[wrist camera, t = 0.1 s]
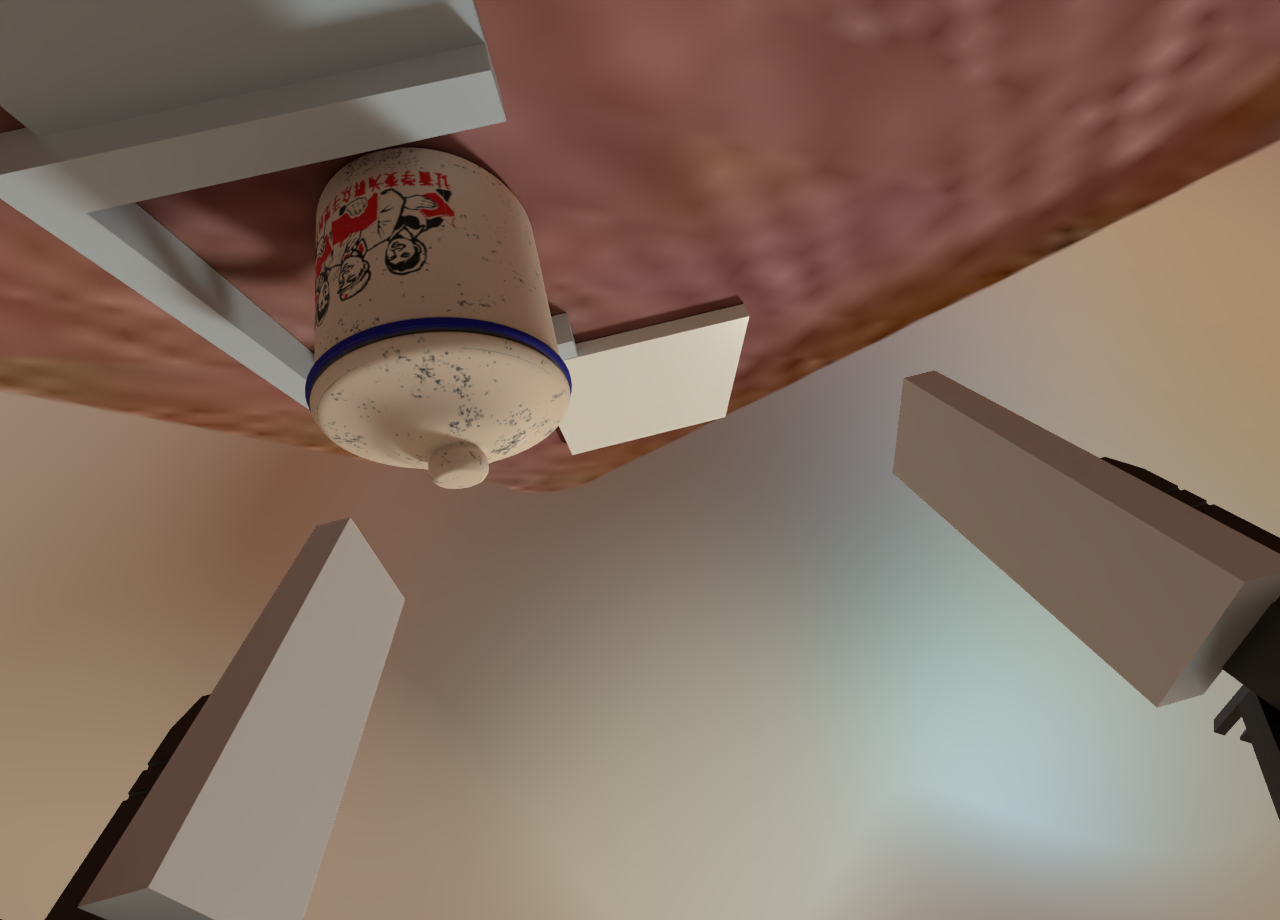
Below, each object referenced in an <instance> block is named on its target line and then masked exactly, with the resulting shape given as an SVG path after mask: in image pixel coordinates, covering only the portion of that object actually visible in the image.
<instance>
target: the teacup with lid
mask: <svg viewBox="0 0 1280 920" xmlns="http://www.w3.org/2000/svg"><path fill="white" fill-rule="evenodd" d="M571 392H572V382H571V376H570V373H569V370H568V368H567V366H566V364H565V363H564V361H563V360H562V359H561V357H560V355H559V350H558V346H557V341H556V337H555V332H554V328H553V323H552V318H551V314H550V309H549V305H548V300H547V295H546V291H545V286H544V282H543V277H542V273H541V268H540V263H539V259H538V254H537V250H536V245H535V240H534V236H533V231H532V228H531V224H530V221H529V219H528V217H527V215H526V212H525V211H524V209H523V207H522V205H521V204H520V202H519V201H518V200H517V198H516V197H515V196H514V194H513V193H512V192H511V191H510V190H509V189H508V188H507V187H506V186H505V185H504V184H503V183H502V182H501V181H500V180H498V179H497V178H496V177H495V176H493V175H492V174H491V173H489V172H488V171H486V170H485V169H483V168H481V167H480V166H478V165H476V164H474V163H472V162H470V161H468V160H465V159H463V158H461V157H458V156H455V155H452V154H449V153H445V152H441V151H437V150H431V149H425V148H393V149H386V150H381V151H376V152H373V153H370V154H367V155H364V156H362V157H360V158H358V159H355V160H354V161H352V162H350V163H349V164H347V165H346V166H344V167H343V168H342V169H341V170H339V171H338V172H337V173H336V174H335V175H334V176H333V177H332V178H331V179H330V181H329V182H328V184H327V185H326V186H325V188H324V190H323V192H322V194H321V196H320V200H319V203H318V206H317V212H316V266H315V351H314V365H313V367H312V368H311V370H310V372H309V374H308V376H307V379H306V384H305V398H306V402H307V405H308V407H309V410H310V412H311V413H312V416H313V418H314V420H315V422H316V423H317V425H318V426H319V428H320V429H321V430H322V431H323V433H324V434H325V435H326V436H327V437H328V438H329V439H331V440H332V441H333V442H334V443H336V444H337V445H339V446H340V447H342V448H343V449H345V450H347V451H349V452H351V453H353V454H355V455H358V456H360V457H363V458H366V459H368V460H371V461H375V462H379V463H383V464H387V465H393V466H399V467H407V468H418V469H426V470H429V476H430V478H431V480H432V481H433V482H434V483H435V484H436V485H438V486H440V487H443V488H449V489H459V488H467V487H471V486H474V485H476V484H478V483H480V482H482V481H483V480H484V479H485V477H486V476H487V474H488V471H489V466H488V464H489V463H491V462H494V461H497V460H500V459H504V458H507V457H510V456H513V455H515V454H518V453H520V452H522V451H524V450H527V449H528V448H530V447H532V446H534V445H536V444H537V443H539V442H540V441H542V440H543V439H545V438H546V437H547V436H548V435H550V434H551V433H552V432H553V431H554V430H555V429H556V428H557V427H558V425H559V424H560V423H561V421H562V420H563V418H564V416H565V414H566V412H567V409H568V407H569V403H570V396H571Z"/></svg>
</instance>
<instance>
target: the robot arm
mask: <svg viewBox="0 0 1280 920" xmlns="http://www.w3.org/2000/svg"><path fill="white" fill-rule="evenodd" d="M903 381H904V382H903V389H902V398H901V406H900V415H899V423H898V432H897V441H896V449H895V458H894V466H893V473H894V474H895V475H896V476H897V477H898V478H900V480H902V481H903V482H904V483H905V484H906V485H907V486H908V487H909V488H910V489H912V490H913V491H914V492H915V493H916V494H917V495H918V496H920V497H921V498H922V499H923V500H924V501H925V502H926V503H927V504H928V505H930V506H931V507H932V508H933V509H934V510H935V511H936V512H938V513H939V514H940V515H941V516H942V517H943V518H944V519H946V520H947V521H948V522H949V523H950V524H951V525H952V526H953V527H955V529H957V530H958V531H959V532H960V533H961V534H962V535H963V536H965V537H966V538H967V539H968V540H969V541H970V542H971V543H973V544H974V545H975V546H976V547H977V548H978V549H979V550H980V551H981V552H982V553H984V554H985V555H986V556H987V557H988V558H989V559H990V560H992V561H993V562H994V563H995V564H996V565H997V566H998V567H999V568H1000V569H1002V570H1003V571H1004V572H1005V573H1006V574H1008V576H1010V577H1011V578H1012V579H1013V580H1014V581H1015V582H1016V583H1017V584H1019V585H1020V586H1021V587H1022V588H1023V589H1024V590H1025V591H1026V592H1028V593H1029V594H1030V595H1031V596H1032V597H1033V598H1034V599H1036V600H1037V601H1038V602H1039V603H1040V604H1041V605H1042V606H1043V607H1045V608H1046V609H1047V610H1048V611H1049V612H1050V613H1051V614H1052V615H1053V616H1055V617H1056V618H1057V619H1058V620H1059V621H1060V622H1061V623H1062V624H1064V625H1065V626H1066V627H1067V628H1068V629H1069V630H1070V631H1071V632H1073V633H1074V634H1075V635H1076V636H1077V637H1078V638H1079V639H1080V640H1082V641H1083V642H1084V643H1085V644H1086V645H1087V646H1088V647H1089V648H1091V649H1092V650H1093V651H1094V652H1095V653H1096V654H1097V655H1098V656H1100V657H1101V658H1102V659H1103V660H1104V661H1105V662H1106V663H1108V664H1109V665H1110V666H1111V667H1112V668H1113V669H1114V670H1115V671H1117V672H1118V673H1119V674H1120V675H1121V676H1122V677H1123V678H1124V679H1126V680H1127V681H1128V682H1129V683H1130V684H1131V685H1132V686H1133V687H1134V688H1136V689H1137V690H1138V691H1139V692H1140V693H1141V694H1142V695H1143V696H1145V697H1146V698H1147V699H1148V700H1149V701H1150V702H1152V703H1153V704H1154V705H1155V706H1156V707H1161V706H1164V705H1167V704H1171V703H1174V702H1178V701H1181V700H1185V699H1188V698H1192V697H1195V696H1199V695H1202V694H1204V693H1205V692H1206V690H1207V689H1208V688H1209V686H1210V685H1211V683H1213V681H1214V680H1215V679H1216V677H1217V676H1218V675H1219V674H1220V672H1221V671H1222V670H1225V671H1226V672H1227V673H1229V674H1230V675H1231V676H1233V677H1234V678H1235V679H1237V680H1238V681H1239V682H1241V683H1242V684H1243V686H1242V687H1241V688H1240V689H1239V690H1238V692H1237V693H1236V694H1235V695H1234V696H1233V697H1232V699H1231V700H1230V701H1229V702H1228V703H1227V705H1226V706H1225V707H1224V708H1223V709H1222V711H1221V712H1220V713H1219V714H1218V715H1217V717H1216V718H1215V719H1214V732H1216V733H1219V734H1222V735H1225V734H1226V733H1227V732H1228V731H1229V730H1230V729H1231V728H1232V726H1233V725H1234V724H1235V723H1236V722H1237V721H1238V720H1239V719H1240V717H1242V718H1243V721H1244V723H1245V726H1246V730H1245V731H1244V732H1243V734H1242V735H1241V737H1240V740H1242V741H1246V742H1249V743H1252V745H1253V748H1254V751H1255V754H1256V756H1257V759H1258V762H1259V765H1260V768H1261V770H1262V773H1263V776H1264V779H1265V781H1266V784H1267V787H1268V790H1269V792H1270V795H1271V798H1272V801H1273V803H1274V806H1275V809H1276V812H1277V814H1278V817H1279V819H1280V538H1279V537H1277V536H1275V535H1273V534H1271V533H1269V532H1267V531H1265V530H1263V529H1261V528H1259V527H1257V526H1255V525H1254V524H1252V523H1250V522H1248V521H1246V520H1244V519H1241V518H1240V517H1237V516H1236V515H1234V514H1232V513H1230V512H1228V511H1226V510H1224V509H1222V508H1220V507H1218V506H1216V505H1208V504H1207V503H1206V500H1204V499H1202V498H1200V497H1199V496H1197V495H1195V494H1193V493H1191V492H1189V491H1187V490H1182V491H1181V490H1179V489H1178V486H1177V485H1175V484H1173V483H1171V482H1169V481H1167V480H1165V479H1163V478H1161V477H1159V476H1157V475H1155V474H1153V473H1151V472H1149V471H1147V470H1146V469H1143V468H1140V467H1137V466H1133V465H1130V464H1127V463H1124V462H1120V461H1117V460H1114V459H1110V458H1107V457H1103V458H1098V457H1096V456H1094V455H1092V454H1091V453H1089V452H1087V451H1085V450H1083V449H1081V448H1079V447H1077V446H1076V445H1074V444H1072V443H1070V442H1068V441H1066V440H1064V439H1062V438H1060V437H1059V436H1057V435H1055V434H1053V433H1051V432H1049V431H1047V430H1045V429H1044V428H1042V427H1040V426H1038V425H1036V424H1034V423H1032V422H1030V421H1029V420H1026V419H1025V418H1023V417H1021V416H1019V415H1017V414H1015V413H1013V412H1012V411H1010V410H1007V409H1006V408H1004V407H1002V406H1000V405H998V404H996V403H995V402H993V401H991V400H989V399H987V398H985V397H983V396H982V395H980V394H978V393H976V392H974V391H972V390H970V389H968V388H966V387H965V386H963V385H961V384H959V383H957V382H955V381H953V380H951V379H950V378H947V377H946V376H944V375H942V374H940V373H938V372H936V371H931V372H926V373H923V374H919V375H914V376H910V377H906V378H904V380H903ZM404 601H405V599H404V597H403V596H402V594H401V593H400V591H399V590H398V588H397V587H396V585H395V584H394V582H393V581H392V579H391V578H390V576H389V575H388V573H387V572H386V570H385V569H384V567H383V566H382V564H381V563H380V561H379V560H378V558H377V557H376V555H375V554H374V552H373V551H372V549H371V548H370V546H369V545H368V543H367V542H366V540H365V539H364V537H363V535H362V534H361V532H360V531H359V529H358V528H357V526H356V525H355V523H354V522H353V520H352V519H351V518H346V519H342V520H338V521H334V522H330V523H326V524H322V525H318V526H316V527H315V529H314V530H313V532H312V534H311V535H310V537H309V538H308V540H307V542H306V543H305V545H304V546H303V548H302V550H301V551H300V553H299V555H298V556H297V558H296V559H295V561H294V562H293V564H292V566H291V567H290V569H289V570H288V572H287V574H286V575H285V577H284V578H283V580H282V582H281V583H280V585H279V586H278V588H277V590H276V591H275V593H274V594H273V596H272V597H271V599H270V601H269V602H268V604H267V605H266V607H265V609H264V610H263V612H262V613H261V615H260V617H259V618H258V620H257V621H256V623H255V625H254V626H253V628H252V629H251V631H250V633H249V634H248V636H247V637H246V639H245V641H244V642H243V644H242V645H241V647H240V649H239V650H238V652H237V653H236V655H235V656H234V658H233V660H232V661H231V663H230V664H229V666H228V668H227V669H226V671H225V673H224V674H223V676H222V677H221V679H220V680H219V682H218V684H217V685H216V687H215V688H214V690H213V692H212V693H211V694H210V695H206V696H202V697H201V698H200V699H199V700H198V701H197V702H196V703H195V704H194V705H193V706H192V707H191V708H190V709H189V710H188V712H187V713H186V714H185V715H184V716H183V717H182V718H181V719H180V720H179V721H178V722H177V723H176V724H175V725H174V726H173V727H172V728H171V729H170V731H169V732H168V734H167V735H166V737H165V738H164V740H163V741H162V743H161V744H160V746H159V747H158V749H157V750H156V752H155V753H154V755H153V757H152V758H151V759H150V761H149V762H148V765H149V767H148V770H144V771H143V772H142V773H141V775H140V776H139V778H138V779H137V781H136V782H135V784H134V785H133V787H132V788H131V790H130V791H129V793H128V794H129V798H128V800H126V801H123V802H122V803H121V805H120V806H119V808H118V809H117V811H116V813H115V814H114V816H113V817H112V819H111V820H110V822H109V823H108V825H107V826H106V828H105V829H104V831H103V833H102V834H101V835H100V837H99V838H98V840H97V841H96V843H95V844H94V846H93V848H92V849H91V850H90V852H89V854H88V855H87V857H86V858H85V859H84V861H83V863H82V864H81V866H80V867H79V869H78V870H77V872H76V873H75V875H74V876H73V878H72V879H71V881H70V882H69V884H68V885H67V887H66V888H65V890H64V891H63V893H62V894H61V896H60V897H59V899H58V900H57V902H56V903H55V905H54V907H53V908H52V910H51V911H50V913H49V914H48V916H47V917H46V919H45V920H303V918H304V915H305V911H306V909H307V905H308V903H309V899H310V896H311V893H312V890H313V887H314V884H315V881H316V877H317V874H318V871H319V868H320V865H321V862H322V858H323V855H324V852H325V849H326V846H327V843H328V840H329V837H330V833H331V830H332V827H333V824H334V821H335V818H336V815H337V811H338V808H339V805H340V802H341V798H342V796H343V793H344V789H345V786H346V783H347V780H348V777H349V774H350V770H351V767H352V764H353V761H354V758H355V755H356V751H357V749H358V745H359V742H360V739H361V736H362V733H363V729H364V726H365V723H366V720H367V717H368V714H369V710H370V708H371V705H372V701H373V698H374V695H375V692H376V689H377V686H378V683H379V679H380V676H381V673H382V670H383V667H384V664H385V660H386V657H387V654H388V651H389V648H390V645H391V642H392V638H393V636H394V632H395V629H396V626H397V623H398V619H399V616H400V614H401V610H402V607H403V604H404ZM0 920H1V919H0Z"/></svg>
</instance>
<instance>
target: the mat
mask: <svg viewBox="0 0 1280 920" xmlns="http://www.w3.org/2000/svg"><path fill="white" fill-rule="evenodd" d="M748 319H749V314H748V312H747V309H746V307H745V304H741V305H737V306H733V307H729V308H724V309H720V310H716V311H712V312H708V313H703V314H699V315H695V316H691V317H687V318H683V319H678V320H674V321H670V322H666V323H662V324H657V325H653V326H649V327H645V328H641V329H636V330H632V331H628V332H624V333H620V334H615V335H611V336H607V337H603V338H599V339H595V340H590V341H586V342H582V343H578V344H576V348H577V356H578V357H573V358H569V359H565V360H563V361H564V363H565V364H566V366H567V368H568V370H569V373H570V376H571V382H572V392H571V396H570V403H569V407H568V409H567V412H566V414H565V416H564V418H563V420H562V421H561V423H560V424H559V427H560V430H561V432H562V434H563V436H564V438H565V440H566V442H567V444H568V446H569V448H570V451H571V453H572V455H574V454H578V453H582V452H586V451H590V450H594V449H598V448H602V447H606V446H610V445H615V444H619V443H623V442H627V441H631V440H635V439H639V438H643V437H647V436H651V435H655V434H659V433H663V432H667V431H671V430H675V429H679V428H683V427H687V426H691V425H695V424H699V423H703V422H707V421H711V420H715V419H719V418H723V417H725V416H726V411H727V407H728V403H729V399H730V395H731V391H732V386H733V382H734V378H735V374H736V370H737V365H738V361H739V357H740V353H741V349H742V345H743V340H744V336H745V332H746V328H747V324H748Z"/></svg>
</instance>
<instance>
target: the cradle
mask: <svg viewBox="0 0 1280 920" xmlns="http://www.w3.org/2000/svg"><path fill="white" fill-rule="evenodd" d="M0 106H1V107H2V108H4V109H5V110H6V111H7V112H9V113H10V114H11V115H12V116H13V117H15V118H16V119H17V120H18V121H19V122H21V123H22V124H23V125H24V126H26V127H27V128H23V129H18V130H13V131H8V132H4V133H0V199H2V200H3V201H5V202H6V203H8V204H9V205H11V206H12V207H14V208H15V209H17V210H18V211H19V212H21V213H22V214H24V215H25V216H27V217H28V218H30V219H31V220H33V221H34V222H36V223H37V224H38V225H40V226H41V227H43V228H44V229H46V230H47V231H49V232H50V233H52V234H53V235H55V236H56V237H57V238H59V239H60V240H62V241H63V242H65V243H66V244H68V245H69V246H71V247H72V248H74V249H75V250H76V251H78V252H79V253H81V254H82V255H84V256H85V257H87V258H88V259H90V260H91V261H93V262H94V263H96V264H97V265H98V266H100V267H101V268H103V269H104V270H106V271H107V272H109V273H110V274H112V275H113V276H115V277H116V278H117V279H119V280H120V281H122V282H123V283H125V284H126V285H128V286H129V287H131V288H132V289H134V290H135V291H136V292H138V293H139V294H141V295H142V296H144V297H145V298H147V299H148V300H150V301H151V302H153V303H154V304H155V305H157V306H158V307H160V308H161V309H163V310H164V311H166V312H167V313H169V314H170V315H172V316H173V317H174V318H176V319H177V320H179V321H180V322H182V323H183V324H185V325H186V326H188V327H189V328H191V329H192V330H193V331H195V332H196V333H198V334H199V335H201V336H202V337H204V338H205V339H207V340H208V341H210V342H211V343H212V344H214V345H215V346H217V347H218V348H220V349H221V350H223V351H224V352H226V353H227V354H229V355H230V356H232V357H233V358H234V359H236V360H237V361H239V362H240V363H242V364H243V365H245V366H246V367H248V368H249V369H251V370H252V371H253V372H255V373H256V374H258V375H259V376H261V377H262V378H264V379H265V380H267V381H268V382H270V383H271V384H272V385H274V386H275V387H277V388H278V389H280V390H281V391H283V392H284V393H286V394H287V395H289V396H290V397H291V398H293V399H294V400H296V401H297V402H299V403H300V404H302V405H303V406H305V407H306V408H308V409H309V407H308V405H307V402H306V398H305V384H306V379H307V376H308V374H309V372H310V370H311V368H312V367H313V365H314V354H313V353H312V352H311V351H309V350H308V349H307V348H306V347H305V346H303V345H302V344H301V343H300V342H299V341H298V340H296V339H295V338H294V337H293V336H292V335H291V334H289V333H288V332H287V331H286V330H285V329H283V328H282V327H281V326H280V325H279V324H278V323H276V322H275V321H274V320H273V319H272V318H271V317H269V316H268V315H267V314H266V313H265V312H263V311H262V310H261V309H260V308H259V307H258V306H256V305H255V304H254V303H253V302H252V301H250V300H249V299H248V298H247V297H246V296H245V295H243V294H242V293H241V292H240V291H239V290H238V289H236V288H235V287H234V286H233V285H232V284H230V283H229V282H228V281H227V280H226V279H225V278H223V277H222V276H221V275H220V274H219V273H218V272H216V271H215V270H214V269H213V268H212V267H210V266H209V265H208V264H207V263H206V262H205V261H203V260H202V259H201V258H200V257H199V256H197V255H196V254H195V253H194V252H193V251H192V250H190V249H189V248H188V247H187V246H186V245H185V244H183V243H182V242H181V241H180V240H179V239H177V238H176V237H175V236H174V235H173V234H172V233H170V232H169V231H168V230H167V229H166V228H165V227H163V226H162V225H161V224H160V223H159V222H157V221H156V220H155V219H154V218H153V217H152V216H150V215H149V214H148V213H147V212H146V211H144V210H143V209H142V208H141V207H140V206H139V205H137V204H136V203H135V202H139V201H143V200H148V199H152V198H157V197H161V196H166V195H171V194H175V193H180V192H184V191H189V190H194V189H198V188H203V187H207V186H212V185H216V184H221V183H226V182H230V181H235V180H239V179H244V178H249V177H253V176H258V175H262V174H267V173H272V172H276V171H281V170H285V169H290V168H294V167H299V166H304V165H308V164H313V163H317V162H322V161H327V160H331V159H336V158H340V157H345V156H349V155H354V154H359V153H363V152H368V151H372V150H377V149H382V148H386V147H391V146H395V145H400V144H404V143H409V142H414V141H418V140H423V139H427V138H432V137H437V136H441V135H446V134H450V133H455V132H460V131H464V130H469V129H473V128H478V127H482V126H487V125H492V124H496V123H501V122H505V121H506V117H505V113H504V108H503V104H502V99H501V94H500V90H499V85H498V81H497V78H496V75H495V71H494V68H493V65H492V61H491V58H490V54H489V51H488V48H487V44H486V41H485V38H484V34H483V31H482V28H481V24H480V21H479V17H478V14H477V11H476V7H475V4H474V1H473V0H0ZM551 318H552V323H553V328H554V332H555V337H556V341H557V346H558V350H559V355H560V357H561V359H562V360H565V359H569V358H573V357H578V356H577V348H576V344H575V340H574V337H573V333H572V330H571V327H570V323H569V320H568V317H567V313H564V314H559V315H555V316H551Z"/></svg>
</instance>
